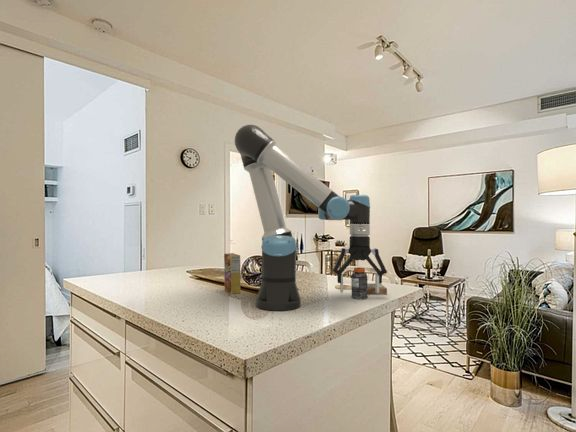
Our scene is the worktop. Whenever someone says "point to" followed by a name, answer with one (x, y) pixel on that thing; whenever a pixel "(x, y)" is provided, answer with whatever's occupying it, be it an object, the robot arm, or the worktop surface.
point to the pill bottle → (359, 284)
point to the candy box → (232, 272)
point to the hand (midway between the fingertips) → (359, 292)
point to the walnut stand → (372, 289)
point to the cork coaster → (344, 287)
